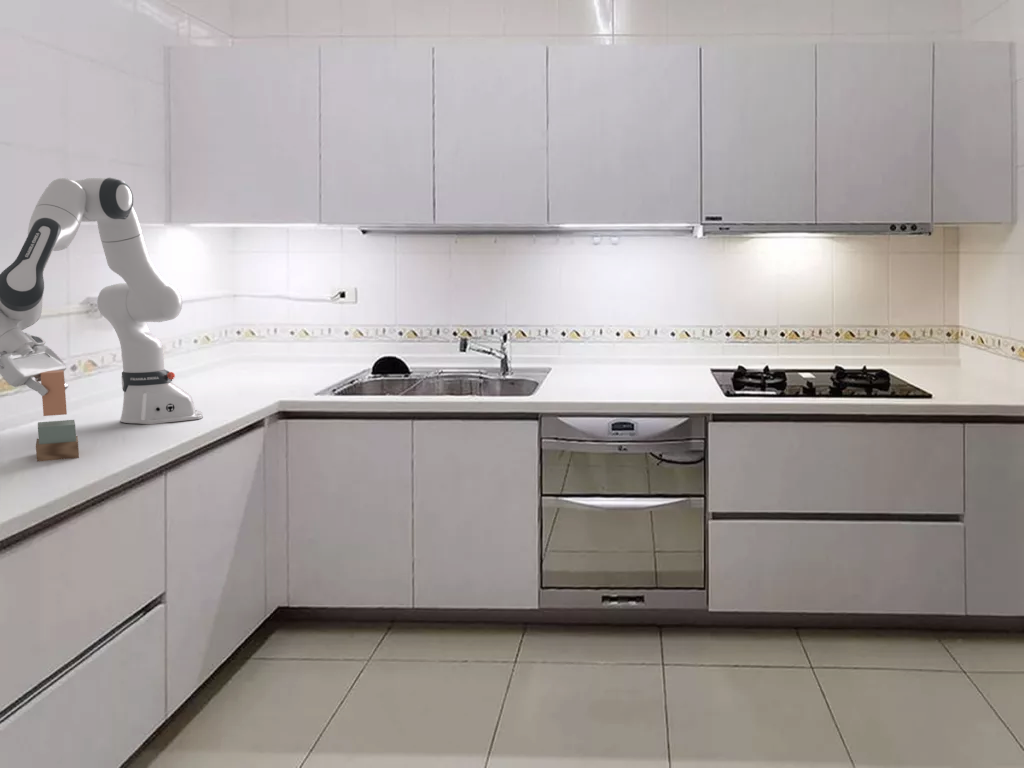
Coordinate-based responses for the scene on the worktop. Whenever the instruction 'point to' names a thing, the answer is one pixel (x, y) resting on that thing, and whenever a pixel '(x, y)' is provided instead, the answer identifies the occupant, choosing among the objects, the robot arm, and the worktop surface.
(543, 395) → the worktop surface
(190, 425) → the worktop surface
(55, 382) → the pillar
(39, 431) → the tower top
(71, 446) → the tower base
